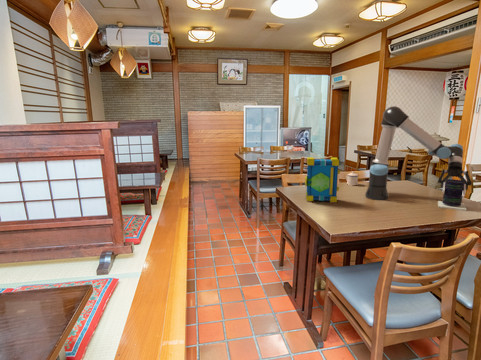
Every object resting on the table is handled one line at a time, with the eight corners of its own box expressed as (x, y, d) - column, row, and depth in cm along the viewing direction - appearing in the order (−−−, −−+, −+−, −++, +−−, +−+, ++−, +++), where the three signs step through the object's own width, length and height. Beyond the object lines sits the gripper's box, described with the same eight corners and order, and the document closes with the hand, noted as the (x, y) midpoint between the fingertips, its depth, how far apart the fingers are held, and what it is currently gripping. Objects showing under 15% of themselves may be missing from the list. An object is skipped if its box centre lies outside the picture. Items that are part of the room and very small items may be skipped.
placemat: (438, 207, 178) (438, 206, 178) (437, 202, 190) (437, 200, 190) (466, 211, 171) (466, 209, 171) (463, 205, 182) (464, 203, 182)
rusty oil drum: (465, 205, 175) (469, 182, 172) (449, 205, 175) (452, 182, 172) (453, 201, 185) (457, 179, 182) (438, 201, 185) (441, 179, 182)
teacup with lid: (360, 185, 242) (361, 172, 240) (352, 186, 239) (353, 173, 236) (349, 182, 253) (350, 170, 251) (341, 183, 250) (342, 170, 247)
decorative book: (304, 197, 207) (305, 156, 201) (337, 198, 202) (339, 157, 196) (304, 202, 193) (306, 159, 187) (339, 204, 189) (342, 159, 183)
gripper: (475, 169, 182) (475, 198, 173) (434, 166, 194) (431, 193, 185) (478, 162, 177) (478, 191, 167) (435, 159, 189) (432, 187, 179)
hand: (453, 192), depth 176 cm, fingers closed on rusty oil drum, 10 cm apart
